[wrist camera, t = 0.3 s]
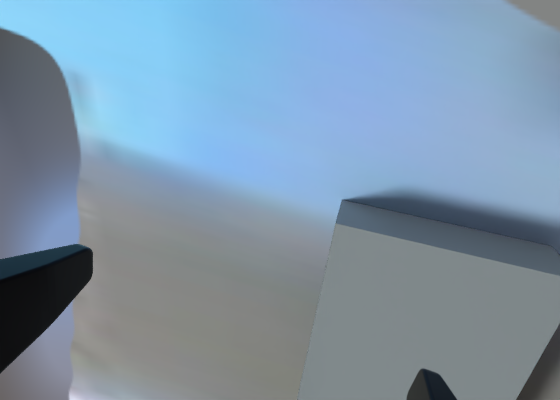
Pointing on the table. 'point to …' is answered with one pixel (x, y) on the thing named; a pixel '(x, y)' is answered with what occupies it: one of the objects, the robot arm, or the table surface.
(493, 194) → the table surface
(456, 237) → the slate box
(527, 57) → the table surface
